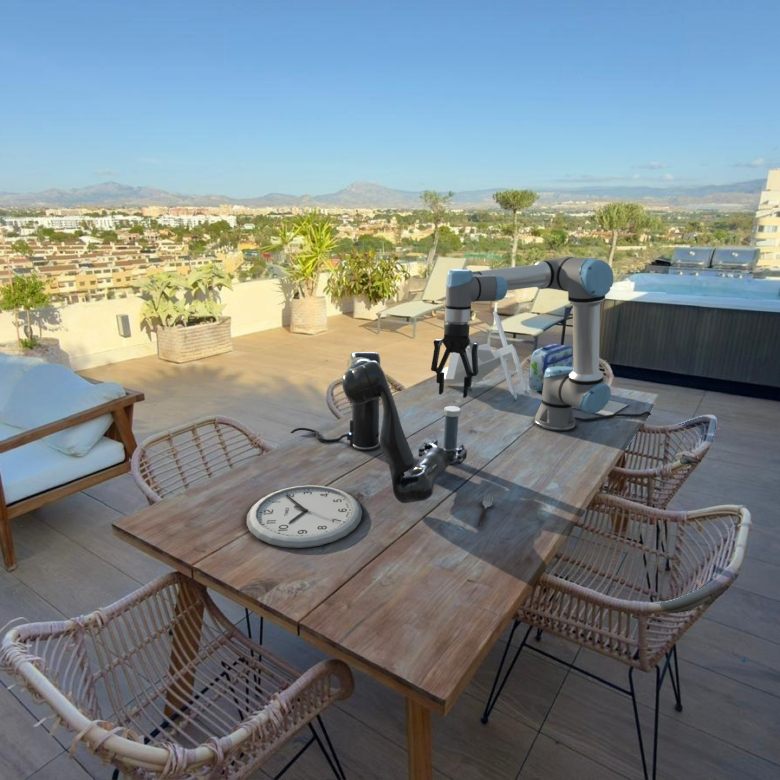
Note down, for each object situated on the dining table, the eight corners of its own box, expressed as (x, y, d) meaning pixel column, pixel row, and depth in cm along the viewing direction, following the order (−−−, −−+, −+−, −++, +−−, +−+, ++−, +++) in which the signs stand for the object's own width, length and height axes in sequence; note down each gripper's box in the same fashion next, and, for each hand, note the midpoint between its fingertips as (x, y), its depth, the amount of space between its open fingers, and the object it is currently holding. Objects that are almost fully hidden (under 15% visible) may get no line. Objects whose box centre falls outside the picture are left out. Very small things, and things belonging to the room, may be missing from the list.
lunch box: (545, 396, 239) (550, 351, 232) (524, 391, 246) (528, 347, 240) (572, 385, 256) (577, 343, 250) (552, 380, 263) (557, 339, 257)
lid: (452, 418, 162) (452, 412, 162) (440, 413, 166) (440, 408, 166) (463, 414, 166) (464, 409, 165) (451, 410, 169) (451, 404, 169)
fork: (473, 526, 133) (473, 519, 133) (484, 497, 148) (485, 491, 147) (483, 528, 133) (484, 521, 132) (493, 499, 147) (494, 493, 146)
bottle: (449, 465, 168) (452, 413, 163) (440, 461, 171) (442, 409, 166) (458, 461, 171) (461, 410, 165) (449, 457, 174) (451, 407, 168)
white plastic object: (461, 429, 252) (437, 405, 227) (444, 352, 274) (420, 323, 250) (535, 404, 240) (518, 377, 215) (510, 326, 262) (492, 293, 237)
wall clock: (364, 539, 124) (235, 543, 122) (364, 545, 125) (236, 550, 122) (360, 481, 153) (256, 483, 150) (360, 486, 153) (256, 488, 151)
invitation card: (608, 416, 214) (573, 407, 224) (608, 416, 214) (573, 408, 224) (628, 404, 229) (594, 396, 238) (628, 405, 229) (594, 397, 238)
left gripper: (457, 456, 150) (471, 437, 164) (410, 448, 155) (428, 429, 169) (455, 480, 152) (470, 459, 166) (410, 471, 157) (427, 451, 172)
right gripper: (492, 323, 157) (487, 395, 164) (429, 317, 164) (426, 387, 171) (487, 327, 150) (482, 402, 157) (421, 321, 157) (419, 394, 164)
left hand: (449, 444), depth 168 cm, fingers open, 8 cm apart
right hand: (453, 394), depth 164 cm, fingers open, 7 cm apart
